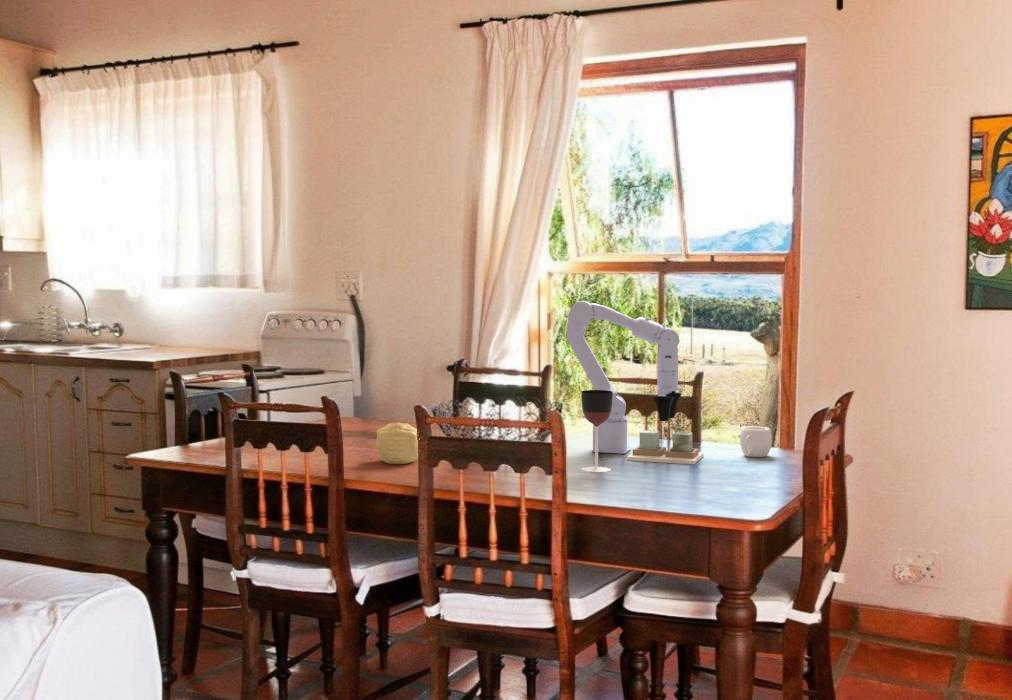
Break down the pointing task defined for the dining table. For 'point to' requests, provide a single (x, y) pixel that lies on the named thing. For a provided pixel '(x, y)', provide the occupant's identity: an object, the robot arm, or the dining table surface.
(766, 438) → the mug
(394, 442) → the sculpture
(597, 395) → the wineglass
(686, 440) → the green block
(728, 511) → the dining table surface
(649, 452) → the puzzle board
